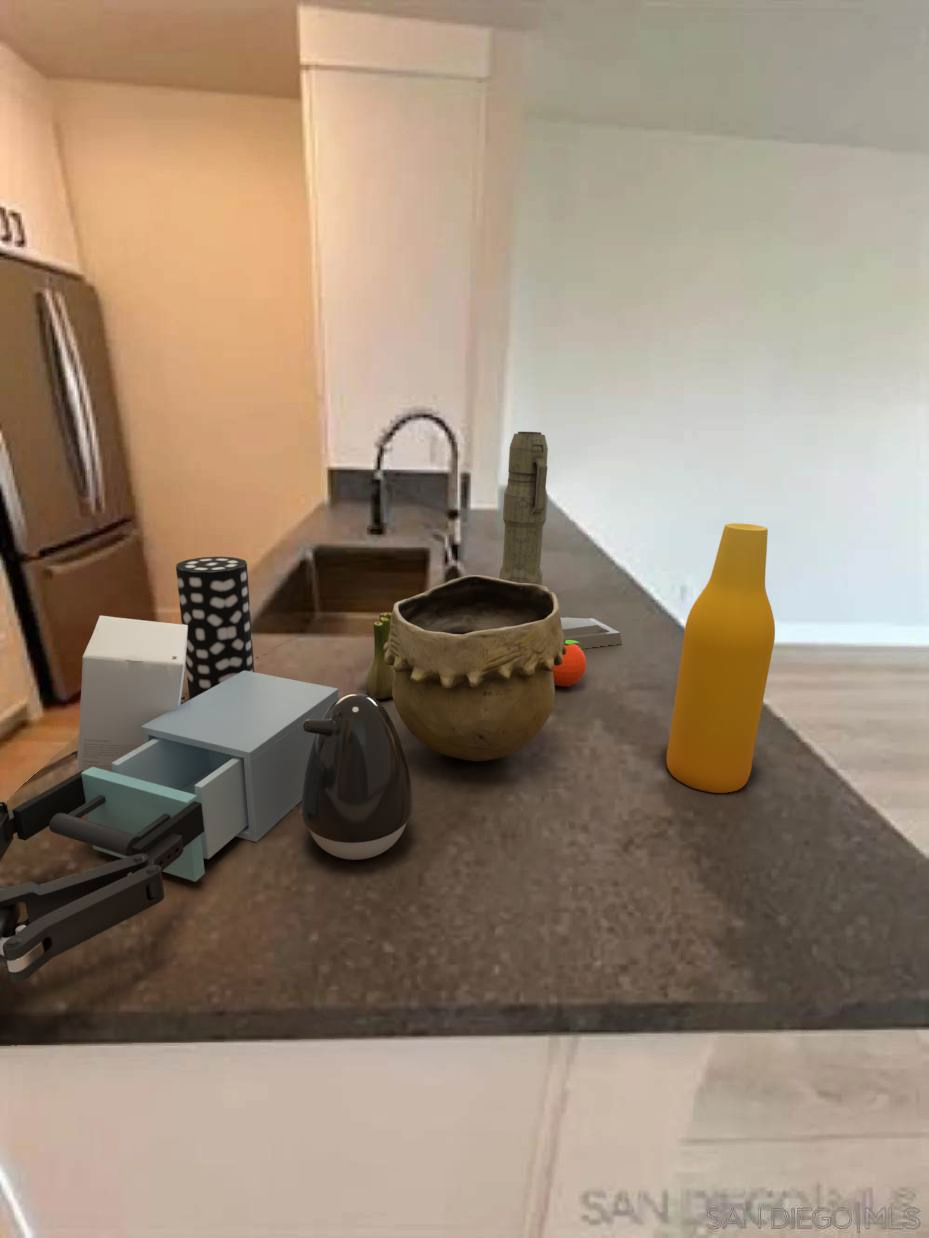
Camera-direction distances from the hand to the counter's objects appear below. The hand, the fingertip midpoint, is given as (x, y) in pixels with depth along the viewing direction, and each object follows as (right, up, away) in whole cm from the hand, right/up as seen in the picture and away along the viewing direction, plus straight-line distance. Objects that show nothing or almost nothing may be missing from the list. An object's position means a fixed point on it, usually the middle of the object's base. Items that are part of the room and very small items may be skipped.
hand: (141, 799), depth 58 cm
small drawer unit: (+5, -3, +15) cm, 16 cm away
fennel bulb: (+16, +4, +39) cm, 42 cm away
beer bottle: (+56, -3, +21) cm, 60 cm away
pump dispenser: (+17, -6, +7) cm, 20 cm away
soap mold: (+45, +11, +63) cm, 78 cm away
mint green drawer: (+1, -5, +5) cm, 7 cm away
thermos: (+39, +19, +85) cm, 96 cm away
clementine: (+43, +5, +45) cm, 62 cm away
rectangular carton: (-9, 0, +16) cm, 19 cm away
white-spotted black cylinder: (-5, +3, +32) cm, 33 cm away
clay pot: (+28, -1, +24) cm, 37 cm away
